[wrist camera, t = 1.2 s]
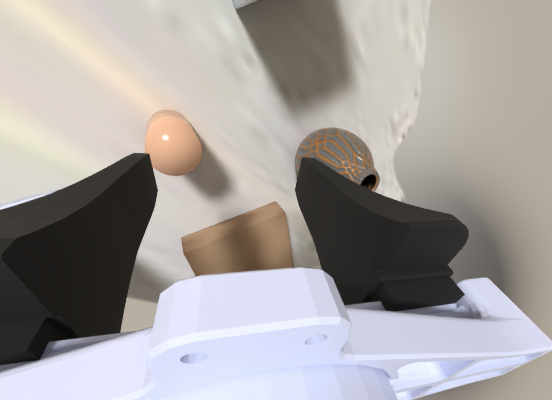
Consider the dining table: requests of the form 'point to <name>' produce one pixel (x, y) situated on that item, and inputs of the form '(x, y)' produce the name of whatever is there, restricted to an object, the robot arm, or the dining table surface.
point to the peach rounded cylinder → (172, 143)
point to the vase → (340, 155)
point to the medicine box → (242, 3)
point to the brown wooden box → (241, 243)
